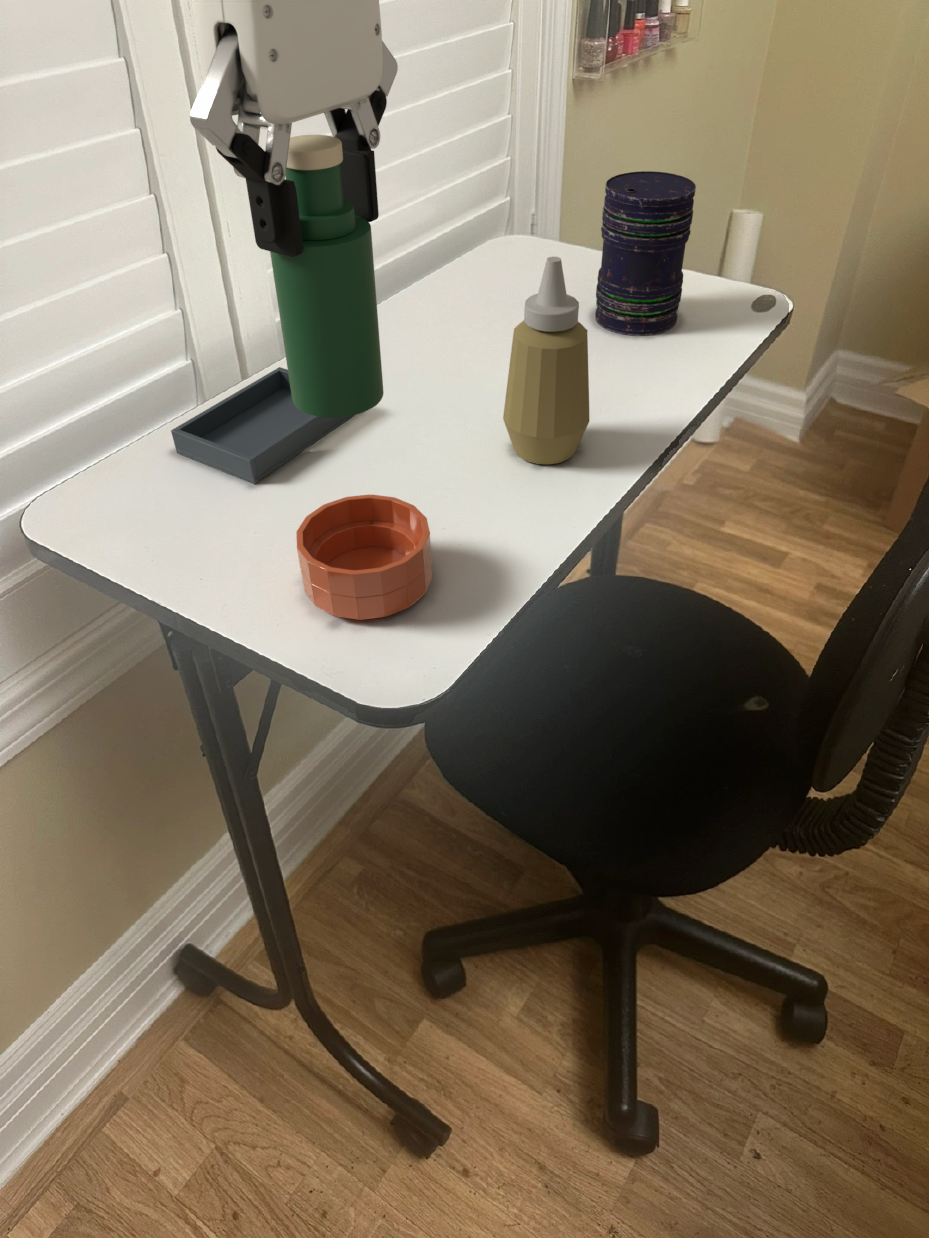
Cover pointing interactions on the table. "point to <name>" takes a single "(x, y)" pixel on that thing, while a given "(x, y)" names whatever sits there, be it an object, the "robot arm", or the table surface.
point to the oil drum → (643, 251)
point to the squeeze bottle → (548, 374)
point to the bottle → (328, 290)
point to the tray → (252, 430)
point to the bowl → (365, 556)
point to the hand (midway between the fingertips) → (319, 231)
